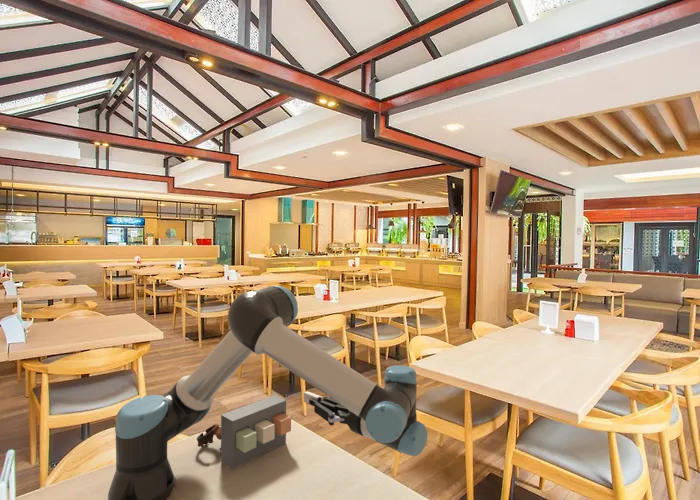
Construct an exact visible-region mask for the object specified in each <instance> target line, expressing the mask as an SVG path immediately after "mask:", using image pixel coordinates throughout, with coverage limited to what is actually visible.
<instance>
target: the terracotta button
mask: <svg viewBox="0 0 700 500" xmlns="http://www.w3.org/2000/svg"><path fill="white" fill-rule="evenodd" d="M272 423H273V424H274V432H275V433H277V434H279V435H284V434H286V435H287V434H288V433H290V432H291V431H292V417H291V416H289V415H287V413H286V414H283V413H279V414H276V415H274V416H272Z"/></svg>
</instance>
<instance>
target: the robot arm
mask: <svg viewBox="0 0 700 500" xmlns="http://www.w3.org/2000/svg"><path fill="white" fill-rule="evenodd" d="M298 311H299V308H298V302H297V298H296V296H295V295H294V294H293V293H292V291H291V290H290V289H288V288H286V287H284V286H281V285H270V286H267V287H264V288H259V289H255V290H250V291H246V292H243V293H241V294H240V295H238V296H237V297H236V298H235V299H234V300H233V301H232V302H231V303H230V306H229V309H228V312H227V324H228V326H229V329H230V330H229V331H228V333H226V335H225V336H224V337H223V338H222V339H221V340H220V341H219V342H218V343H217V345H216V346H215V347H214V348H213V349H212V351H210V353H208V354H207V356H206V357H205V358H204V359H203V360H202V362H201V363H200V364H198V366H197V367H196V368H195V370H194V371H192V373H191V374H189V375H188V374H187V375H184V376H182V377H181V378H180V379H179V380H177V382H176V383H175V384H174V385H173V387H171V389H169V390H168V392H165V393H164V394H163V395H160V394H147V395H144V396H142V397H137V398H134V399H132V400H130V401H129V402H126V403H125V404H124V405H123V406H122V407H121V408H120V409H119V411H118V412H117V414H116V418H115V419H116V420H115V421H116V422H115V426H114V432H115V472H114V475H113V478H112V480H111V484H110V487H109V489H108V493H107V500H167V499H168V498H169V497H170V496H171V495H172V493H173V492H174V490H175V485H176V484H175V483H176V482H175V481H176V479H175V475H174V472H173V469H172V467H171V464H170V461H169V459H168V442H169V441H171V440H172V439H174V438H175V437H177V436H178V435H179V434H182V433H183V432H184V431H186V430H187V429H189V428H190V427H192V426H194V425H196V424H197V423H198V424H199V422H200V421H202V420H203V419H204V418H205V417H206V416H207V415H208V413H209V412H210V410H211V408H212V404H213V402H214V395H215V394H216V393H217V391H218V390H220V388H221V387H223V385H224V384H225V383H226V382H227V381H228V379H230V377H231V376H233V374H234V373H235V372H236V371H237V370H238V369H239V368H240V367H241V366H242V365H243V363H245V361H246V360H247V359H248V358H249V357H250V356H251V355H252V354H253V353H254V354H256V355H259V356H260V355H263V354H264V355H266V356H267V357H269V358H271V360H273V361H275V362H276V363H277V364H279V365H281V366H282V367H284V368H285V369H287V370H288V371H290V372H291V373H293V374H294V375H295V376H297V377H298V378H300V379H302V380H303V381H305V382H307V384H309V385H311V386H312V387H314V388H315V389H317V390H318V391H319V392H321V393H323V394H324V395H325V396H322V395H320V394H316V393H314V392H311V391H308V390H307V391H305V392H303V402H304V403H306V404H308V405H310V406H312V407H314V408H313V409H314V410H313V411H314V413H315V414H317V415H318V416H319V417H320V418H322V419H323V420H325V421H326V422H327V423H328V425H329V426H334V425H335V423H336V422H337V423H338V422H339V423H340V424H343V425H347V426H348V428H349V429H350V431H351V432H353V433H355V434H357V435H360V436H362V437H363V436H364V437H366V438H367V439H370V440H372V441H375V442H376V443H379V444H381V445H383V446H386V447H387V448H388V447H389V449H390V448H391V449H393V450H395V451H397V452H398V453H402V454H404V455H407V456H410V457H417V456H419V455H420V454H422V452H423V451H424V449H425V447H426V445H427V442H428V430H427V426H426V425H425V424H424V423H422V422H421V421H419V420H418V419H417V418H418V416H417V385H418V381H417V371H416V370H415V368H412V367H410V366H407V365H400V364H399V365H397V364H396V365H389V366H388V367H387V368H386V369H385V371H384V378H383V382H384V387H381V386H380V385H378V384H376V383H375V382H374V381H372V380H371V379H369V378H367V377H366V376H364V375H362V374H361V373H360V372H358V371H357V370H355V369H353V368H351V367H350V366H348V365H347V364H346V363H344V362H342V361H341V360H340V359H337V358H336V357H334V356H333V355H331V354H330V353H329V352H327V351H325V350H323V348H320V347H319V346H317V345H316V344H314V343H313V342H311V341H309V340H308V339H306V338H305V337H304V336H302V335H300V334H298V332H295V331H294V330H292V329H290V327H289V326H291V325H292V324H293V323H294V322H295V320H296V319H297V316H298Z"/></svg>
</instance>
